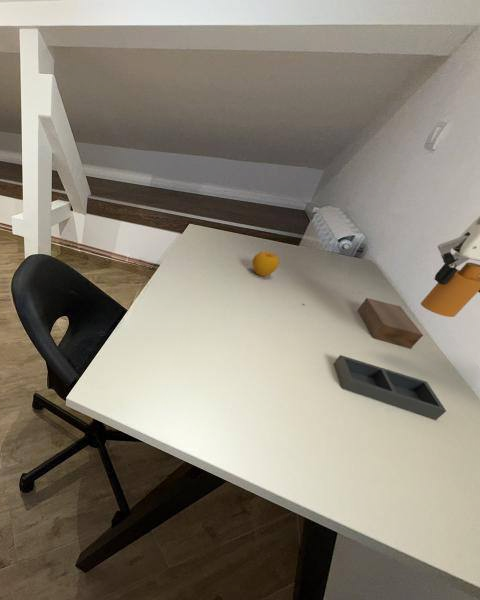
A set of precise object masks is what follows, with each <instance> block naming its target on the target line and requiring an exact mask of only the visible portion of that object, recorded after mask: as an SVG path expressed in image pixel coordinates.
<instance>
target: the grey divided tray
mask: <svg viewBox="0 0 480 600" xmlns="http://www.w3.org/2000/svg"><path fill="white" fill-rule="evenodd" d="M333 367H334V370H335V373H336V376H337V379H338V382H339V385H340V387H341V389H342V390H344V391H348V392H351V393H354V394H357V395H359V396H363V397H366V398H369V399H372V400H375V401H378V402H381V403H384V404H387V405H389V406H392V407H396V408H398V409H401V410H404V411H407V412H410V413H413V414H416V415H419V416H422V417H425V418H428V419H431V420H434V421H437V420H438V419H439V418H440V417H441V416H443V415H444V414H445V413H446V412H447V409H446V408H445V406H444V405H443V403H442V402H441V400H440V399H439V398H438V396H437V395H436V393H435V391H434V390H433V389H432V387H431V385H430V384H429V383H428V381H426V380H422V379H419V378H418V377H417V378H416V377H413V376H410V375H406V374H403V373H400V372H397V371H394V370H390V369H387V368H384V367H380V366H377V365H374V364H370V363H367V362H364V361H361V360H358V359H354V358H351V357H348V356H345V355H343V354H340V355H338V357H337V358H336V360H335V361H334V362H333Z"/></svg>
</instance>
